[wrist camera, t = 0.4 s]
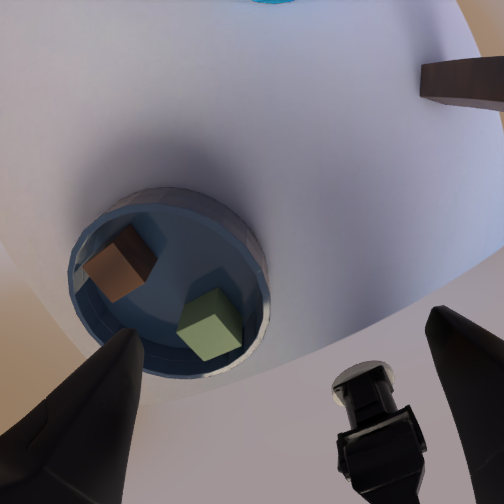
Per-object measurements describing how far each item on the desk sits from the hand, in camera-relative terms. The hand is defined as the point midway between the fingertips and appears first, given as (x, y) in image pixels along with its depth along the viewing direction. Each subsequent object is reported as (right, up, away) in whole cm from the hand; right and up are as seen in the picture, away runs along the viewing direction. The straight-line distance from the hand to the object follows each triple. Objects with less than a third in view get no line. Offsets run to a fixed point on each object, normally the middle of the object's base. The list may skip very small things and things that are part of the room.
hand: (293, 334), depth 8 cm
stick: (+14, +16, +11) cm, 25 cm away
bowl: (-8, 0, +19) cm, 21 cm away
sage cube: (-5, -3, +20) cm, 21 cm away
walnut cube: (-12, +2, +17) cm, 21 cm away
